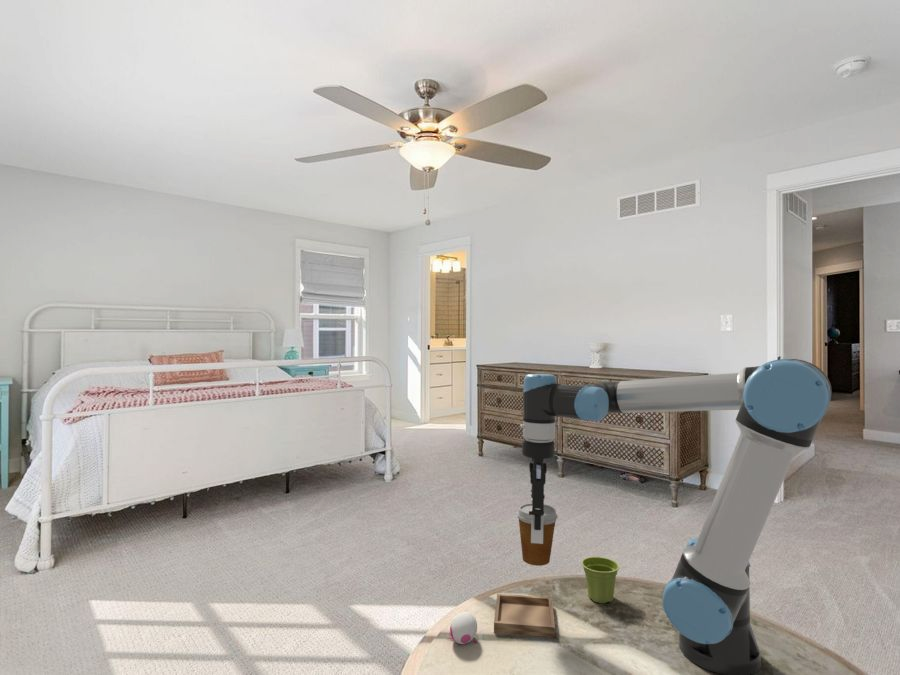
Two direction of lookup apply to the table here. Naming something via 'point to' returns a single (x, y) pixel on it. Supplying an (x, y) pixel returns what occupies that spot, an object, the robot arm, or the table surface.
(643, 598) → the table surface
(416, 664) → the table surface
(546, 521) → the disposable coffee cup
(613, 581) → the plant pot
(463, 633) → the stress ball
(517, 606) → the tray
